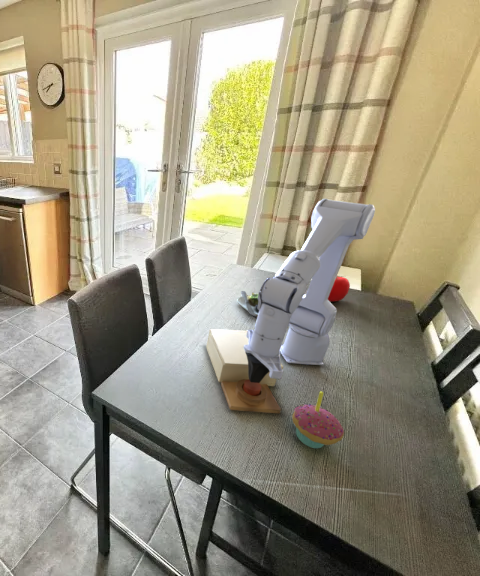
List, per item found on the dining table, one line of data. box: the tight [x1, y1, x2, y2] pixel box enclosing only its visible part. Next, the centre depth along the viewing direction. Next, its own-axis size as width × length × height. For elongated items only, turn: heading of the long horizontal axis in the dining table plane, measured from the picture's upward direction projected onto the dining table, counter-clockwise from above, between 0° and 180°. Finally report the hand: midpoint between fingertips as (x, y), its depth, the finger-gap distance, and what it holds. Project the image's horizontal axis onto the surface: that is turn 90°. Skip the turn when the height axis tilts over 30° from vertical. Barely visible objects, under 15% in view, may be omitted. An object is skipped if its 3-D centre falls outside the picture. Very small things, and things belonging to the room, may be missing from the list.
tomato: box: [328, 275, 351, 303], centre depth 115 cm, size 11×13×10 cm
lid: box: [208, 328, 284, 370], centre depth 80 cm, size 16×14×1 cm
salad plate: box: [236, 290, 259, 319], centre depth 111 cm, size 19×18×5 cm
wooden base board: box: [220, 379, 282, 414], centre depth 73 cm, size 11×8×3 cm
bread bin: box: [205, 331, 278, 387], centre depth 82 cm, size 15×14×6 cm
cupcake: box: [291, 387, 345, 449], centre depth 61 cm, size 9×8×12 cm
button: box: [243, 379, 261, 396], centre depth 72 cm, size 4×4×2 cm
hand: (254, 380), depth 71 cm, fingers closed
